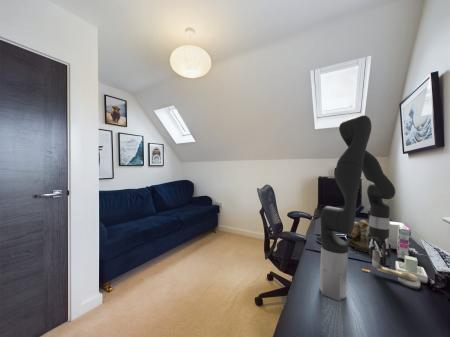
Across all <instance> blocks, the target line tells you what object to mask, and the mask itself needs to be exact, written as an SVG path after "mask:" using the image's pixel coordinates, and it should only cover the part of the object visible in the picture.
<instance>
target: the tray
mask: <svg viewBox="0 0 450 337" xmlns="http://www.w3.org/2000/svg"><path fill="white" fill-rule="evenodd" d="M394 268H395V270H396V271H400V272H408V273H411V274H414V275H415V276H417V279H418V280H419V281H420V282H421V283H424V284H428V278H429V276H428V275H427V272H426V270H425V269H424V267H422V266H418V265H417V273H414V272H410V271H406V270H404V262H402V261H397V260H395V267H394Z"/></svg>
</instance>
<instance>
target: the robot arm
mask: <svg viewBox="0 0 450 337" xmlns="http://www.w3.org/2000/svg"><path fill="white" fill-rule="evenodd" d="M338 128H339V129H338V131H339V134H340V136H341V138H342V140H343V141H344V143H345V144H346V146H347V147H348V148H346V149H345V151H344V152H343V153H342V155H340V157H339V158H338V160H337V162H336V167H335V172H334V179H335V182H336V184H337V185H338V187H339V189H340V191H341V194H342V195H343V198H344V208H342V207H335V206H331V205H326V206H324V207H323V208H322V210H321V214H320V242H321V244H320V246H321V248H320V263H319V264H320V269H319V291H320V292H321V295H323V296H326V297H328V298H330V299H333V300H335V301H337V302H341V300H344V299H346V298H347V285H348V283H347V282H348V265H349V264H348V262H349V246H348V244H347V241H346V240H344V239H342V238H341V237H339V236H338V235H337V234H336V233H339V234H344V235H348V234H351V233H352V231H353V228H354V223H355V222H356V214H357V212H356V211H357V202H358V201H357V200H358V195H359V194H358V192H359V189H360V188H359V187H360V185H361V183H360V182H361V179H362V173H363V175H364V177H365V179H366V181H368V182H370V184H369V185H368V187H367V189H366V194H367V198H368V202H369V205H370V209H369V210H370V211H369V212H370V214H369V220H368V226H369V234H368V238H367V245H369V248H370V253H369V257H372V258H373V250H376V248H377V251H378V252H379V254H380V265H382V267H384V266H387V258H388V259H390V258H391V249H392V248H391V245H390V244H387V243H386V241H385V239H387V238H389V229H390V221H391V220H390V210H391V209H390V206H389V205H388V204H387V203H385V202H384V201H383V200H392V199H393V198H394V197H395V196H396V188H395V186H394V184H393V183H392V182H391V180H390V179H389V178H388V176H387V175H385V173H384V172H383V169H382V167H381V164H380V162H379V160H378V159H377V158H376V157H375V156H374V155H373V154H372V153H370V152H369V151H368V150H367V146H368V143H369V139H370V136H371V132H372V121H371V119H370V117H369V116H368V115H364V114H363V115H358V116H356V117H352V118H350V119H347V120H344V121H342V122H340V124H339V127H338ZM335 232H336V233H335ZM370 241H371V242H370Z"/></svg>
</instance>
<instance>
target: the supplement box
mask: <svg viewBox="0 0 450 337" xmlns="http://www.w3.org/2000/svg"><path fill="white" fill-rule="evenodd" d="M389 221H390V229H389V238H387V239H385V241H386V243H387V244H390V245H391V249H394V250H397V240H398V225H404V226H406V225H405V224H404V223H403V222H397V221H391V220H389Z"/></svg>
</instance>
